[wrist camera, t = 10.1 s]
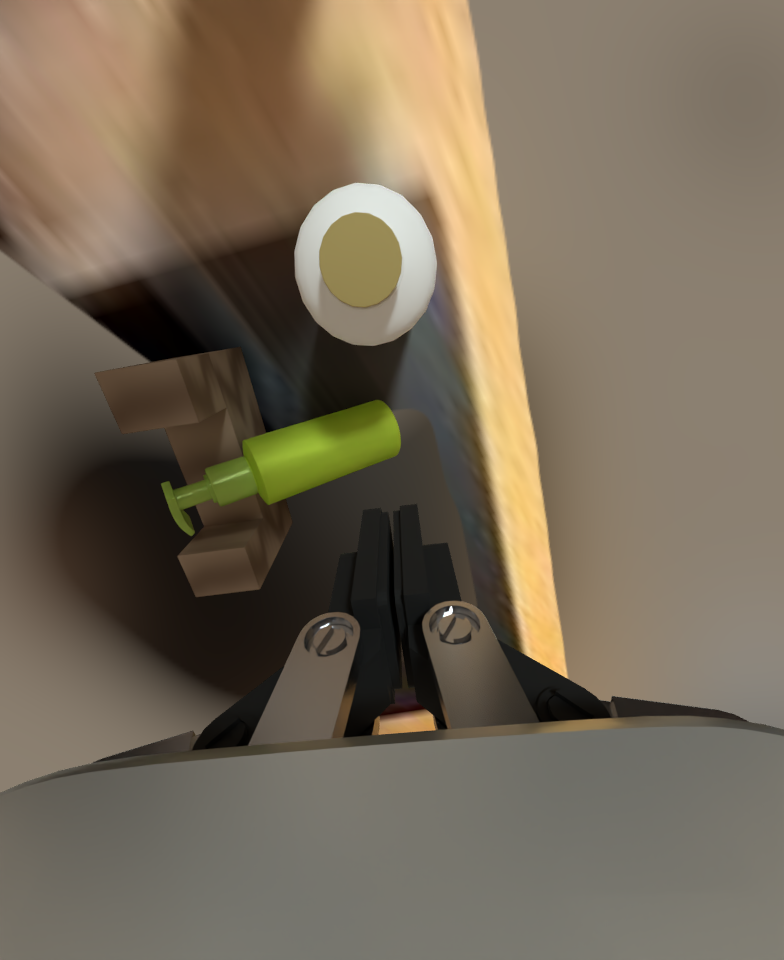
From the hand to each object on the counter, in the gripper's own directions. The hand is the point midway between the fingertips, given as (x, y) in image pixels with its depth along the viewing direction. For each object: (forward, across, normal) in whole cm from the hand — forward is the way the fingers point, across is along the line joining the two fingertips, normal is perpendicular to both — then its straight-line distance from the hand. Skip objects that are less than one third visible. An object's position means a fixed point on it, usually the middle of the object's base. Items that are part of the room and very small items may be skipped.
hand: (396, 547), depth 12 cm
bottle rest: (+29, +17, +5) cm, 34 cm away
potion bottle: (+30, 0, -9) cm, 31 cm away
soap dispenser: (+27, +1, +5) cm, 27 cm away
